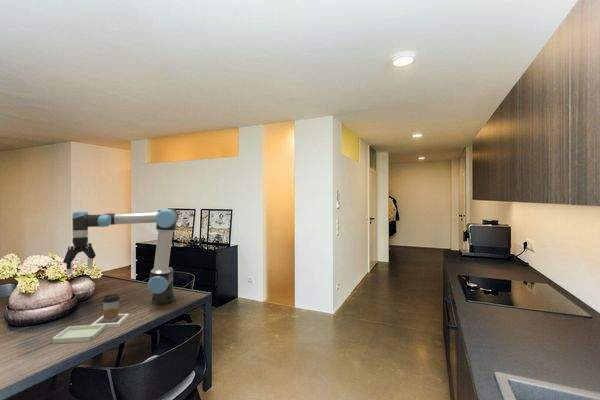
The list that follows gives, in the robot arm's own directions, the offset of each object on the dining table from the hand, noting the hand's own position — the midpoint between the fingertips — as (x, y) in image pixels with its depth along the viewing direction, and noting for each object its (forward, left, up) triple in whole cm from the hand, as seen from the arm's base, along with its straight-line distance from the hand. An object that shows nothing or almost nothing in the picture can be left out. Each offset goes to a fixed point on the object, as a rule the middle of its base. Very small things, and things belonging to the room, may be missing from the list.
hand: (80, 271), depth 175 cm
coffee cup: (-24, +16, -26) cm, 39 cm away
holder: (-24, +16, -26) cm, 39 cm away
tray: (-16, +31, -26) cm, 44 cm away
